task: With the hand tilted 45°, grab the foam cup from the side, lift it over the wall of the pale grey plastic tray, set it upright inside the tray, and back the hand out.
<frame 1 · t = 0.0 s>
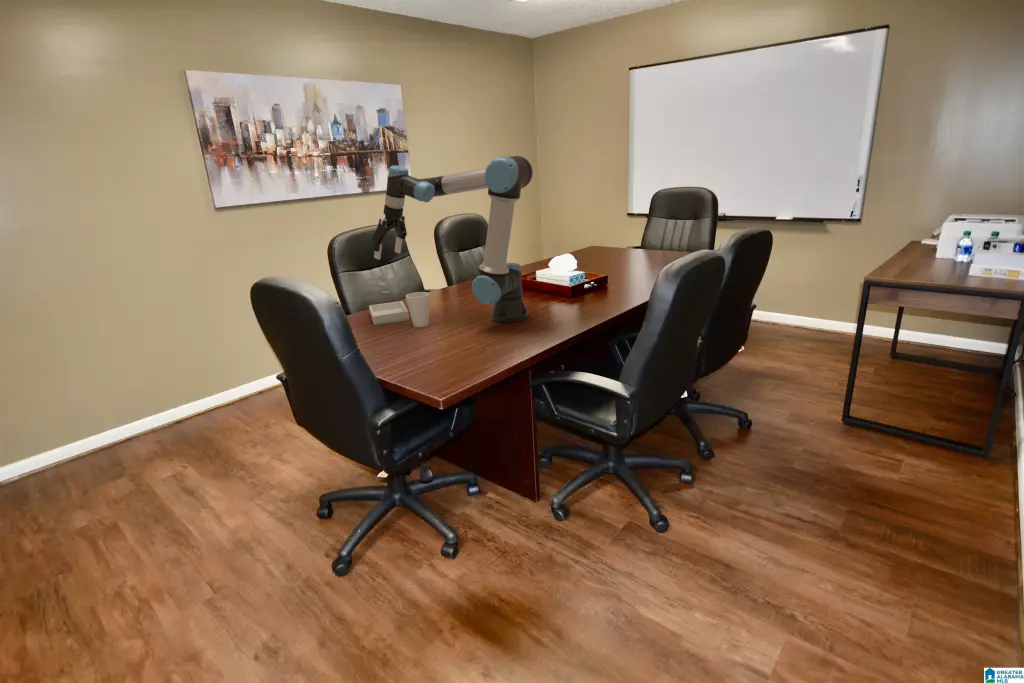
hand: (387, 255, 222), 28 cm above the table, tool tilted 20°, fingers open, 13 cm apart
grey tray: (389, 317, 234), on the table
reusable coffee cup: (494, 288, 274), on the table
foam cup: (421, 325, 219), on the table
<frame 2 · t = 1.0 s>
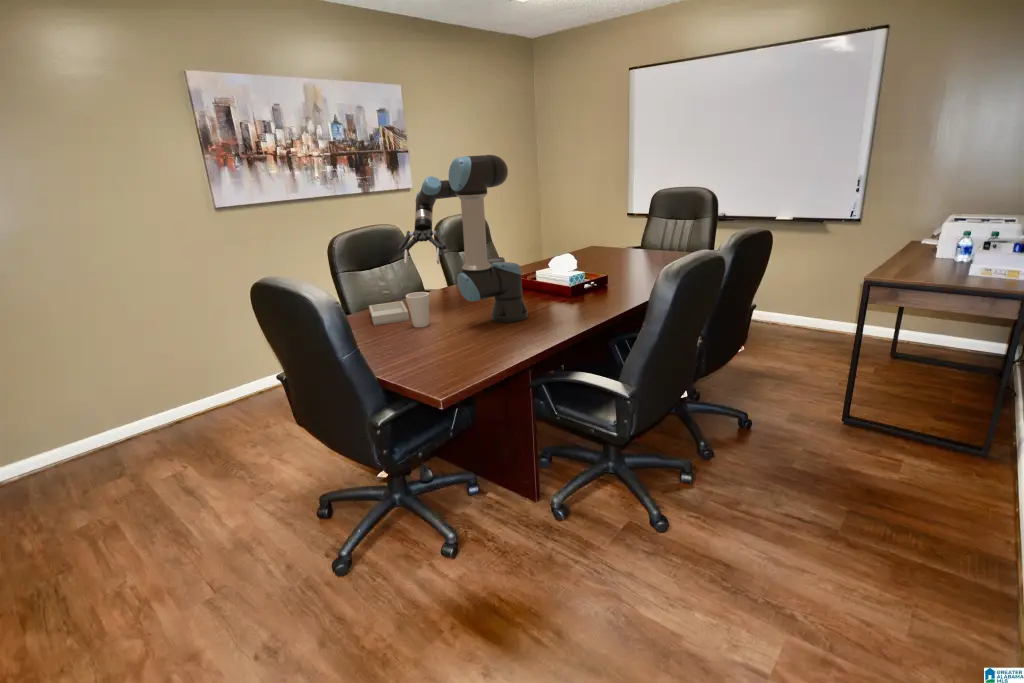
hand: (421, 263, 222), 24 cm above the table, tool tilted 45°, fingers open, 13 cm apart
nothing on the table moved.
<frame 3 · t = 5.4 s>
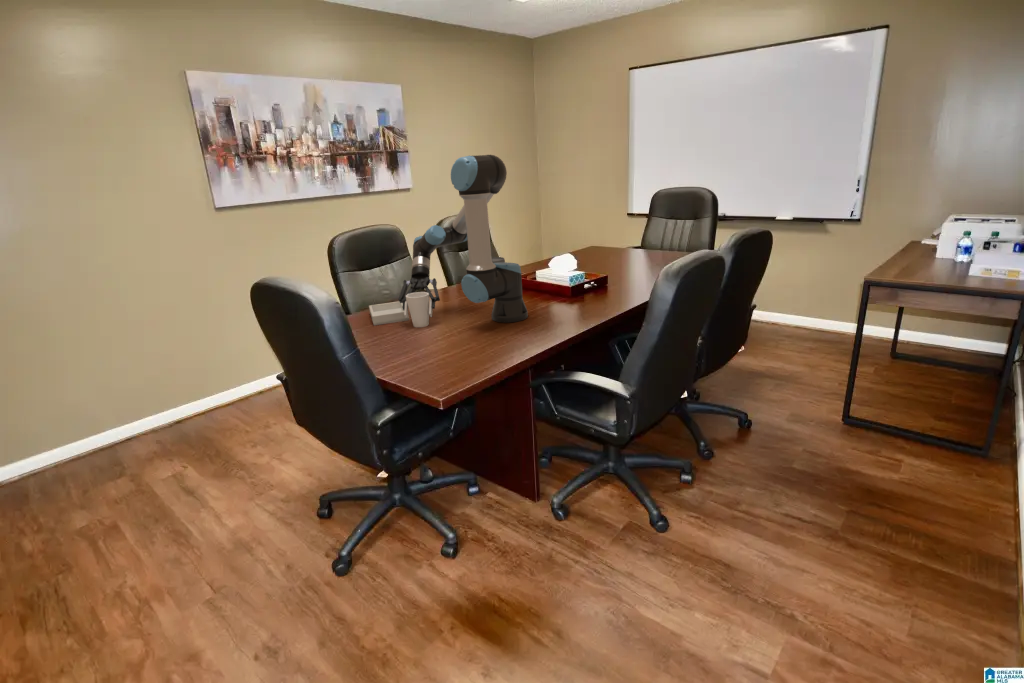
hand: (418, 316, 215), 5 cm above the table, tool tilted 45°, fingers closed on foam cup, 9 cm apart
foam cup: (421, 325, 219), on the table, touching gripper
everything else where it was.
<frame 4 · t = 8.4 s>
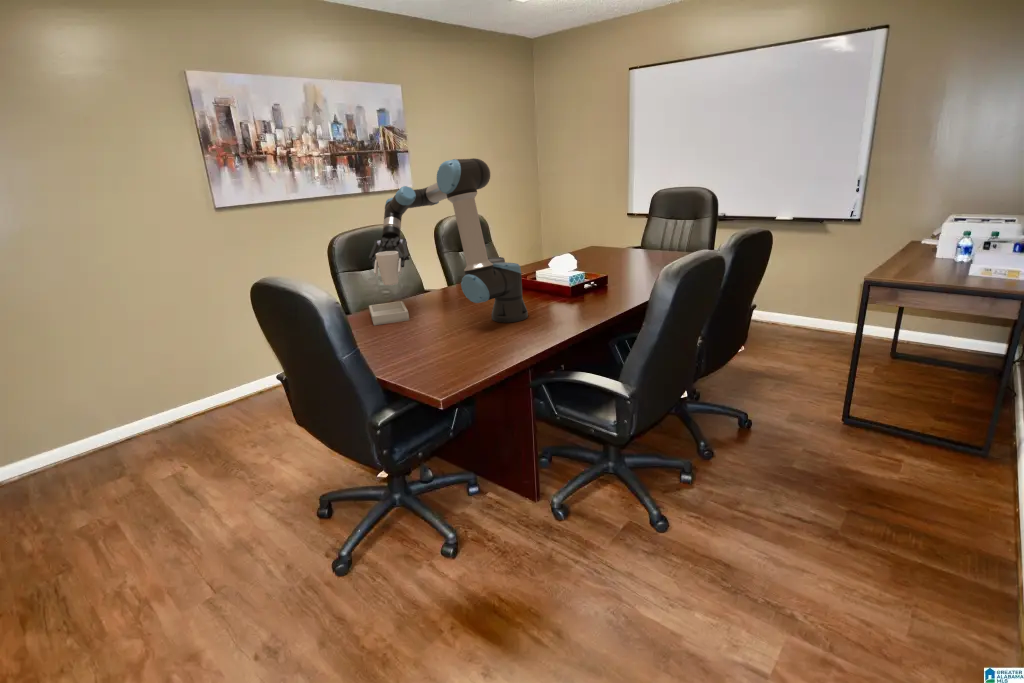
hand: (387, 273, 221), 21 cm above the table, tool tilted 45°, fingers closed on foam cup, 9 cm apart
foam cup: (391, 283, 226), point 16 cm above the table, touching gripper
everything else where it was.
when the fingers open (7 cm above the table, at t = 11.6 s): foam cup drops 1 cm, resting on grey tray.
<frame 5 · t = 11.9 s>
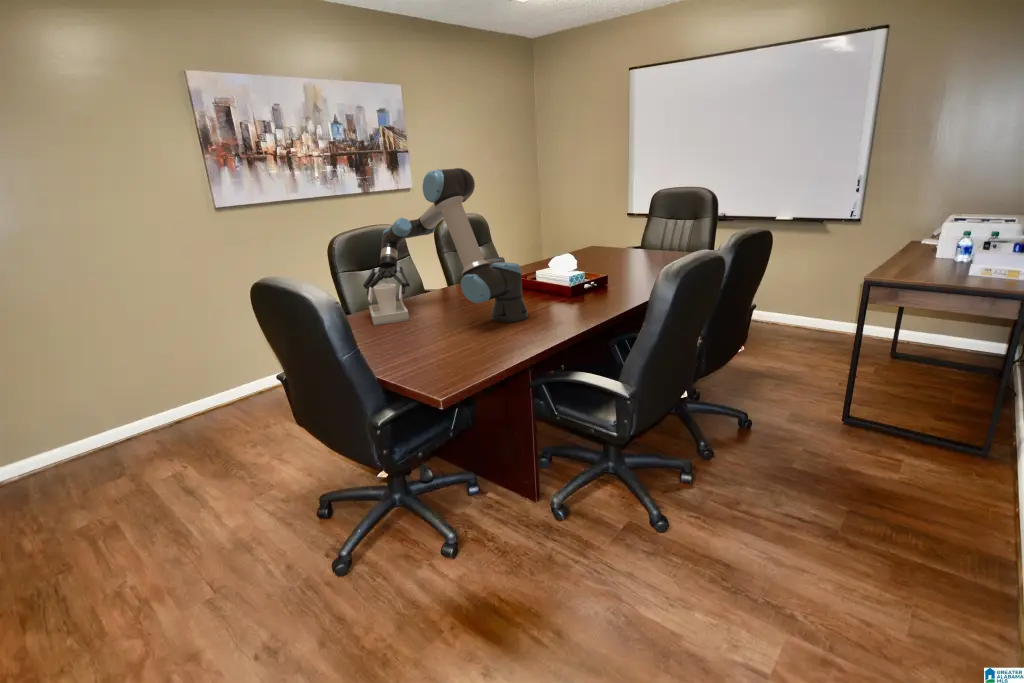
hand: (385, 300, 229), 8 cm above the table, tool tilted 45°, fingers open, 13 cm apart
foam cup: (388, 315, 234), point 1 cm above the table, touching grey tray
everything else where it was.
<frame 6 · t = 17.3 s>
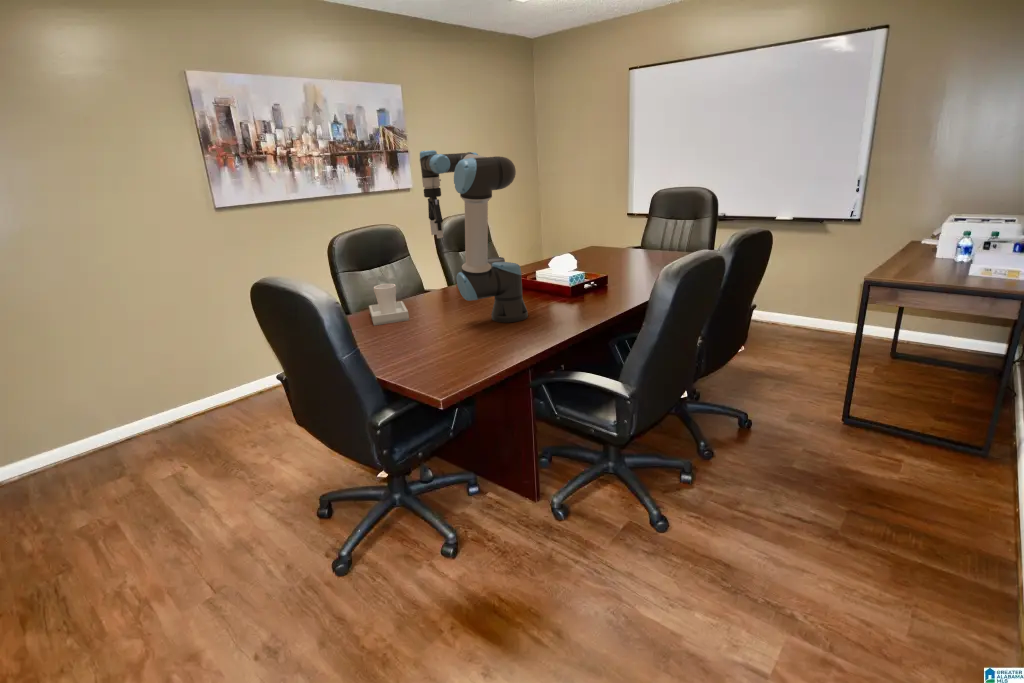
hand: (437, 236, 239), 32 cm above the table, tool pointing down, fingers open, 13 cm apart
nothing on the table moved.
at the end: foam cup inside the target area on the grey tray (0.1 cm from its centre), point 0.8 cm above the grey tray's base; foam cup tilted 0°; the gripper is holding nothing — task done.
